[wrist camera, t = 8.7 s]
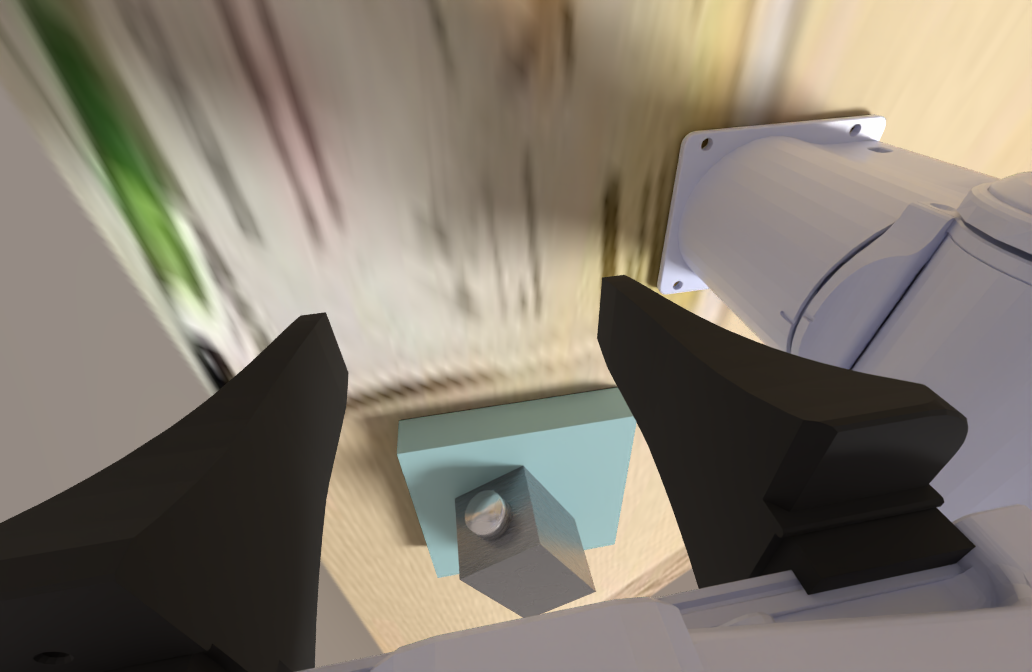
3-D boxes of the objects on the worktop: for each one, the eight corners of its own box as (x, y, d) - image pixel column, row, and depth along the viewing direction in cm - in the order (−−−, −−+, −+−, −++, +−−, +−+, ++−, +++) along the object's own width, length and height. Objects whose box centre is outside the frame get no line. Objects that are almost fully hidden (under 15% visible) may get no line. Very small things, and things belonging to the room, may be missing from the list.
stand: (622, 386, 28) (637, 415, 26) (604, 515, 37) (614, 544, 35) (398, 420, 27) (396, 454, 25) (437, 546, 36) (437, 577, 34)
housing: (574, 518, 32) (595, 591, 28) (514, 545, 33) (526, 619, 29) (514, 455, 26) (529, 535, 22) (443, 489, 27) (447, 572, 23)
